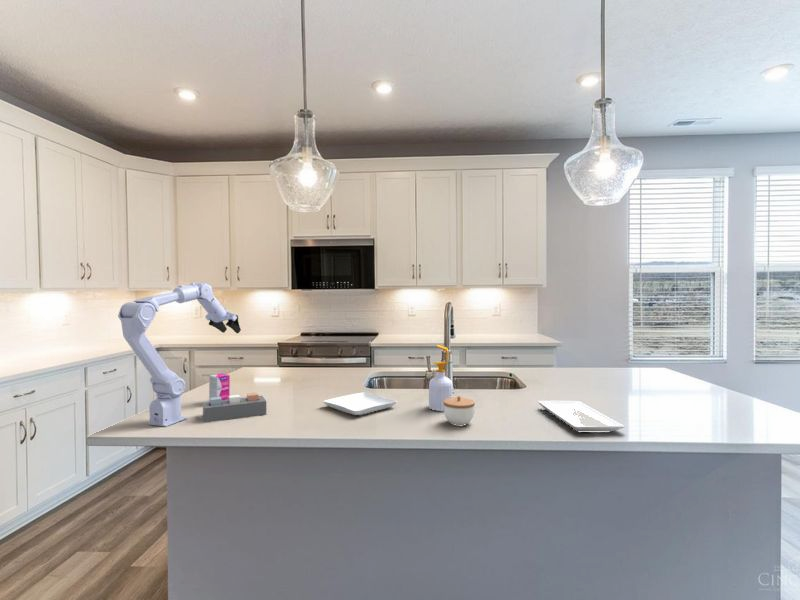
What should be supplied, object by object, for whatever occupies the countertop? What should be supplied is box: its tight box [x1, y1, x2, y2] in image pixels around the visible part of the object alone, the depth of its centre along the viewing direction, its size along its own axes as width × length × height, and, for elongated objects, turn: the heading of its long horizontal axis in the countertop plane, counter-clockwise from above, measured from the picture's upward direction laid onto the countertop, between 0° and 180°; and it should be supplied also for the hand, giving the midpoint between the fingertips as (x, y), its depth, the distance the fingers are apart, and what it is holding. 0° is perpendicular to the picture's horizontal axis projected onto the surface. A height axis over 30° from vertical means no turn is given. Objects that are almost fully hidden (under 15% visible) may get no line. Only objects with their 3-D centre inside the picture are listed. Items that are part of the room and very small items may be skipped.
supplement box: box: [208, 373, 231, 402], centre depth 176 cm, size 6×6×12 cm
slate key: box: [210, 397, 222, 406], centre depth 157 cm, size 4×4×4 cm
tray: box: [537, 400, 625, 432], centre depth 153 cm, size 17×31×4 cm, turn 4°
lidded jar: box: [443, 395, 476, 425], centre depth 150 cm, size 11×11×9 cm
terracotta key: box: [246, 392, 260, 402], centre depth 162 cm, size 4×4×4 cm
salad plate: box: [323, 391, 398, 416], centre depth 169 cm, size 21×21×3 cm
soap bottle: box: [428, 344, 453, 412], centre depth 168 cm, size 9×9×25 cm
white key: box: [229, 394, 241, 404], centre depth 159 cm, size 4×4×4 cm
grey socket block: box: [202, 395, 267, 423], centre depth 159 cm, size 21×9×5 cm, turn 117°
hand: (231, 331), depth 178 cm, fingers open, 7 cm apart
